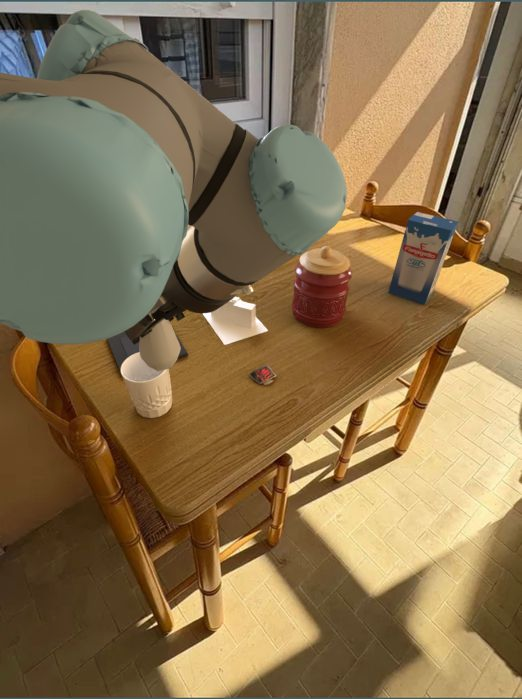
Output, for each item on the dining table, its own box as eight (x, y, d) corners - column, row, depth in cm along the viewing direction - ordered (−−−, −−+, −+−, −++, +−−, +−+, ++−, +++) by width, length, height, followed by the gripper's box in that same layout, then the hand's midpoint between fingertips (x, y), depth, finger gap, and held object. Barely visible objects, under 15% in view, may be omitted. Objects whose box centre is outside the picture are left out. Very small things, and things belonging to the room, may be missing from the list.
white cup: (144, 428, 67) (133, 389, 60) (125, 401, 72) (112, 363, 65) (183, 406, 71) (176, 368, 64) (163, 383, 75) (154, 344, 69)
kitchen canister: (280, 310, 95) (284, 244, 83) (316, 292, 101) (325, 229, 90) (318, 336, 87) (328, 267, 76) (355, 315, 94) (369, 248, 82)
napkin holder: (199, 310, 94) (197, 291, 90) (240, 298, 98) (239, 279, 95) (224, 345, 84) (223, 324, 81) (269, 330, 89) (269, 310, 85)
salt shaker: (172, 344, 60) (159, 270, 51) (188, 365, 56) (177, 289, 48) (136, 357, 57) (116, 282, 49) (151, 380, 54) (132, 303, 45)
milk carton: (387, 292, 102) (407, 219, 89) (396, 282, 106) (416, 211, 93) (425, 305, 97) (451, 230, 84) (432, 294, 101) (459, 221, 88)
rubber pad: (122, 377, 76) (121, 374, 76) (106, 338, 86) (105, 335, 85) (188, 355, 82) (187, 352, 81) (166, 321, 91) (166, 318, 90)
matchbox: (247, 376, 77) (247, 374, 77) (264, 363, 80) (264, 362, 80) (264, 388, 75) (264, 386, 74) (281, 374, 77) (281, 373, 77)
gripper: (167, 337, 33) (107, 380, 52) (282, 269, 42) (196, 327, 61) (118, 261, 32) (75, 333, 51) (247, 209, 41) (170, 286, 60)
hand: (141, 329), depth 56 cm, fingers closed on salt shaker, 3 cm apart
